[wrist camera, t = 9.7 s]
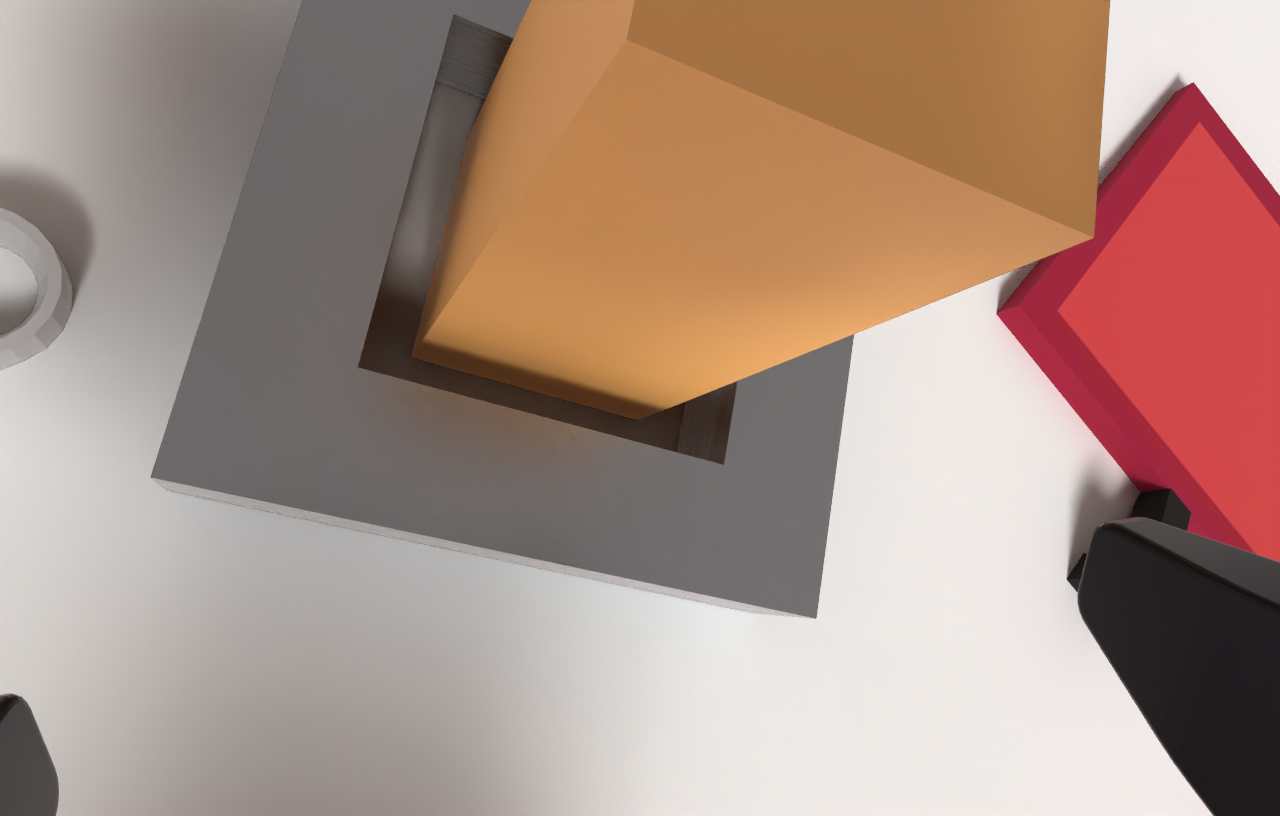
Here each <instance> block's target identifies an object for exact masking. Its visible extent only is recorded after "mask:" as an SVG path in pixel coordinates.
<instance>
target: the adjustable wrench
mask: <svg viewBox="0 0 1280 816" xmlns="http://www.w3.org/2000/svg"><path fill="white" fill-rule="evenodd" d="M0 247H3V248H6V249H9V250H10V251H12V252H14V253H15V254H17V255H18V256H20V257H21V258H23V259H24V261H25V262H26V263H27V264H28V265H29V267H30V268H31V269H32V270H33V272H34V275H35V278H36V281H37V284H38V297H37V301H36V304H35V306H34V308H33V311H32V313H31V314H30V315H29V316H28V317H27V318H26V319H25V320H24V321H23V323H22V324H21V325H19V326H17V327H15V328H14V329H12V330H10V331H8V332H6V333H3V334H0V370H3V369H5V368H8V367H11V366H13V365H16V364H18V363H21V362H24V361H26V360H27V359H29V358H31V357H32V356H34V355H36V354H38V353H39V352H41V351H43V350H44V349H46V348H47V347H48V346H49V345H50V344H51V343H52V342H53V341H54V340H55V339H56V337H57V336H58V335H59V334H60V333H61V332H62V331H63V329H64V327H65V325H66V322H67V320H68V317H69V315H70V313H71V310H72V289H73V287H72V284H71V281H70V278H69V276H68V273H67V270H66V267H65V265H64V263H63V262H62V260H61V258H60V257H59V255H58V254H57V252H56V250H55V249H54V247H53V246H52V245H51V244H50V242H49V241H48V240H47V239H46V237H45V236H44V235H43V234H42V233H41V231H40V230H39V229H38V228H37V227H36V226H34V225H33V224H31V223H30V222H28V221H27V220H25V219H24V218H22V217H21V216H19V215H18V214H16V213H15V212H12V211H9V210H6V209H3V208H0Z"/></svg>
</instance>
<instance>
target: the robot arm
mask: <svg viewBox="0 0 1280 816" xmlns="http://www.w3.org/2000/svg"><path fill="white" fill-rule="evenodd" d="M1077 596H1078V606H1079V611H1080V614H1081V616H1082V619H1083V621H1084V622H1085V624H1086V626H1087V627H1088V629H1089V630H1090V632H1091V634H1092V635H1093V637H1094V638H1095V640H1096V642H1097V643H1098V645H1099V646H1100V648H1101V650H1102V651H1103V653H1104V654H1105V656H1106V657H1107V659H1108V661H1109V662H1110V664H1111V665H1112V667H1113V669H1114V670H1115V672H1116V673H1117V675H1118V677H1119V678H1120V680H1121V681H1122V683H1123V684H1124V686H1125V688H1126V689H1127V691H1128V692H1129V694H1130V696H1131V697H1132V699H1133V700H1134V702H1135V703H1136V705H1137V707H1138V708H1139V710H1140V711H1141V713H1142V715H1143V716H1144V718H1145V719H1146V721H1147V723H1148V724H1149V726H1150V727H1151V729H1152V730H1153V732H1154V734H1155V735H1156V737H1157V738H1158V740H1159V741H1160V743H1161V744H1162V746H1163V747H1164V749H1165V750H1166V752H1167V753H1168V755H1169V757H1170V758H1171V760H1172V761H1173V763H1174V764H1175V765H1176V767H1177V768H1178V769H1179V771H1180V772H1181V773H1182V775H1183V776H1184V778H1185V779H1186V780H1187V782H1188V783H1189V784H1190V786H1191V787H1192V788H1193V790H1194V791H1195V792H1196V794H1197V795H1198V796H1199V798H1200V799H1201V800H1202V802H1203V803H1204V804H1205V806H1206V807H1207V808H1208V809H1209V811H1210V812H1211V813H1212V815H1213V816H1280V562H1279V561H1276V560H1273V559H1270V558H1267V557H1264V556H1261V555H1258V554H1255V553H1252V552H1249V551H1246V550H1243V549H1239V548H1236V547H1233V546H1230V545H1227V544H1224V543H1221V542H1218V541H1215V540H1212V539H1209V538H1206V537H1203V536H1200V535H1197V534H1194V533H1191V532H1188V531H1185V530H1182V529H1179V528H1176V527H1173V526H1170V525H1167V524H1164V523H1161V522H1158V521H1155V520H1152V519H1149V518H1145V517H1133V518H1127V519H1120V520H1114V521H1108V522H1105V523H1103V524H1101V525H1099V526H1098V527H1097V529H1096V530H1095V531H1094V532H1093V535H1092V537H1091V541H1090V545H1089V549H1088V553H1087V557H1086V561H1085V565H1084V569H1083V573H1082V577H1081V581H1080V585H1079V589H1078V595H1077ZM58 798H59V785H58V778H57V773H56V770H55V767H54V765H53V762H52V760H51V757H50V755H49V752H48V750H47V748H46V745H45V743H44V740H43V738H42V735H41V733H40V730H39V728H38V725H37V723H36V721H35V718H34V716H33V713H32V711H31V709H30V707H29V705H28V703H27V702H26V701H25V700H24V699H23V698H22V697H20V696H18V695H15V694H3V695H0V816H56V812H57V807H58Z"/></svg>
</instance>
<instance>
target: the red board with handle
mask: <svg viewBox="0 0 1280 816" xmlns="http://www.w3.org/2000/svg"><path fill="white" fill-rule="evenodd" d="M997 315H998V316H999V318H1000V319H1001V320H1002V321H1003V323H1004V324H1005V325H1006V326H1007V328H1008V329H1009V330H1010V331H1011V333H1012V334H1013V335H1014V336H1015V337H1016V339H1017V340H1018V341H1019V342H1020V344H1021V345H1022V346H1023V347H1024V349H1025V350H1026V351H1027V352H1028V354H1029V355H1030V356H1031V357H1032V358H1033V360H1034V361H1035V362H1036V363H1037V365H1038V366H1039V367H1040V368H1041V370H1042V371H1043V372H1044V373H1045V375H1046V376H1047V377H1048V378H1049V379H1050V381H1051V382H1052V383H1053V384H1054V386H1055V387H1056V388H1057V389H1058V391H1059V392H1060V393H1061V394H1062V396H1063V397H1064V398H1065V399H1066V400H1067V402H1068V403H1069V404H1070V405H1071V407H1072V408H1073V409H1074V410H1075V412H1076V413H1077V414H1078V415H1079V417H1080V418H1081V419H1082V420H1083V421H1084V423H1085V424H1086V425H1087V426H1088V428H1089V429H1090V430H1091V431H1092V433H1093V434H1094V435H1095V436H1096V438H1097V439H1098V440H1099V441H1100V442H1101V444H1102V445H1103V446H1104V447H1105V449H1106V450H1107V451H1108V452H1109V454H1110V455H1111V456H1112V457H1113V459H1114V460H1115V461H1116V462H1117V463H1118V465H1119V466H1120V467H1121V468H1122V470H1123V471H1124V472H1125V473H1126V475H1127V476H1128V477H1129V478H1130V480H1131V481H1132V482H1133V483H1134V484H1135V486H1136V487H1137V488H1138V489H1139V491H1140V492H1141V493H1140V495H1139V496H1138V498H1137V500H1136V503H1135V507H1134V510H1133V514H1132V517H1131V518H1133V517H1145V518H1149V519H1152V520H1155V521H1158V522H1161V523H1164V524H1167V525H1170V526H1173V527H1176V528H1179V529H1182V530H1185V531H1188V532H1191V533H1194V534H1197V535H1200V536H1203V537H1206V538H1209V539H1212V540H1215V541H1218V542H1221V543H1224V544H1227V545H1230V546H1233V547H1236V548H1239V549H1243V550H1246V551H1249V552H1252V553H1255V554H1258V555H1261V556H1264V557H1267V558H1270V559H1273V560H1276V561H1279V562H1280V196H1279V194H1278V193H1277V192H1276V190H1275V189H1274V188H1273V186H1272V185H1271V184H1270V182H1269V181H1268V180H1267V179H1266V177H1265V176H1264V175H1263V173H1262V172H1261V171H1260V169H1259V168H1258V167H1257V165H1256V164H1255V163H1254V161H1253V160H1252V159H1251V157H1250V156H1249V155H1248V153H1247V152H1246V151H1245V150H1244V148H1243V147H1242V146H1241V144H1240V143H1239V142H1238V140H1237V139H1236V138H1235V136H1234V135H1233V134H1232V132H1231V131H1230V130H1229V128H1228V127H1227V126H1226V124H1225V123H1224V122H1223V120H1222V119H1221V118H1220V117H1219V115H1218V114H1217V113H1216V111H1215V110H1214V109H1213V107H1212V106H1211V105H1210V103H1209V102H1208V101H1207V99H1206V98H1205V97H1204V95H1203V94H1202V93H1201V91H1200V90H1199V89H1198V88H1197V86H1196V85H1195V84H1194V82H1193V83H1191V84H1189V85H1187V86H1186V87H1184V88H1182V89H1180V90H1178V91H1177V92H1176V93H1175V94H1174V95H1173V96H1172V98H1171V99H1170V100H1169V101H1168V103H1167V104H1166V105H1165V106H1164V108H1163V109H1162V110H1161V111H1160V113H1159V114H1158V115H1157V116H1156V117H1155V119H1154V120H1153V121H1152V122H1151V124H1150V125H1149V126H1148V127H1147V129H1146V130H1145V131H1144V132H1143V134H1142V135H1141V136H1140V137H1139V138H1138V140H1137V141H1136V142H1135V143H1134V145H1133V146H1132V147H1131V148H1130V150H1129V151H1128V152H1127V153H1126V155H1125V156H1124V157H1123V158H1122V160H1121V161H1120V162H1119V163H1118V164H1117V166H1116V167H1115V168H1114V169H1113V171H1112V172H1111V173H1110V174H1109V176H1108V177H1107V178H1106V179H1105V181H1104V182H1103V183H1102V184H1101V185H1100V187H1099V188H1098V189H1097V202H1096V217H1095V232H1094V238H1092V239H1090V240H1087V241H1085V242H1082V243H1080V244H1077V245H1075V246H1072V247H1070V248H1067V249H1065V250H1062V251H1060V252H1057V253H1055V254H1052V255H1050V256H1047V257H1045V258H1042V259H1041V260H1040V261H1039V262H1038V263H1037V265H1036V266H1035V267H1034V268H1033V269H1032V271H1031V272H1030V273H1029V274H1028V276H1027V277H1026V278H1025V279H1024V281H1023V282H1022V283H1021V284H1020V286H1019V287H1018V288H1017V289H1016V290H1015V292H1014V293H1013V294H1012V295H1011V297H1010V298H1009V299H1008V300H1007V302H1006V303H1005V304H1004V305H1003V307H1002V308H1001V309H1000V310H999V311H998V313H997ZM1086 557H1087V553H1083V555H1082V557H1081V558H1080V560H1079V561H1078V563H1077V564H1076V566H1075V567H1074V569H1073V570H1072V572H1071V574H1070V575H1069V577H1068V578H1067V580H1068V582H1069V583H1070V584H1071V585H1072V586H1073V587H1074V589H1075V590H1076V591H1077V592H1078V589H1079V585H1080V581H1081V577H1082V573H1083V569H1084V565H1085V561H1086Z"/></svg>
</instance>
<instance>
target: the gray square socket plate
mask: <svg viewBox="0 0 1280 816" xmlns="http://www.w3.org/2000/svg"><path fill="white" fill-rule="evenodd" d="M530 2H531V0H303V1H302V4H301V8H300V11H299V14H298V17H297V20H296V23H295V26H294V30H293V33H292V36H291V39H290V42H289V45H288V48H287V51H286V55H285V58H284V61H283V64H282V67H281V70H280V73H279V77H278V80H277V83H276V86H275V89H274V92H273V95H272V99H271V102H270V105H269V108H268V111H267V114H266V117H265V120H264V124H263V127H262V130H261V133H260V136H259V139H258V142H257V146H256V149H255V152H254V155H253V158H252V161H251V164H250V167H249V171H248V174H247V177H246V180H245V183H244V186H243V189H242V193H241V196H240V199H239V202H238V205H237V208H236V211H235V214H234V218H233V221H232V224H231V227H230V230H229V233H228V236H227V240H226V243H225V246H224V249H223V252H222V255H221V258H220V261H219V265H218V268H217V271H216V274H215V277H214V280H213V283H212V287H211V290H210V293H209V296H208V299H207V302H206V305H205V308H204V312H203V315H202V318H201V321H200V324H199V327H198V330H197V334H196V337H195V340H194V343H193V346H192V349H191V352H190V355H189V359H188V362H187V365H186V368H185V371H184V374H183V377H182V381H181V384H180V387H179V390H178V393H177V396H176V399H175V402H174V406H173V409H172V412H171V415H170V418H169V421H168V424H167V428H166V431H165V434H164V437H163V440H162V443H161V446H160V449H159V453H158V456H157V459H156V462H155V465H154V468H153V471H152V475H151V478H152V479H153V480H154V481H156V482H157V483H158V484H160V485H161V486H162V487H163V488H165V489H166V490H168V491H173V492H177V493H182V494H187V495H192V496H197V497H201V498H206V499H211V500H216V501H220V502H225V503H230V504H235V505H240V506H244V507H249V508H254V509H259V510H263V511H268V512H273V513H278V514H283V515H287V516H292V517H297V518H302V519H306V520H311V521H316V522H321V523H326V524H330V525H335V526H340V527H345V528H350V529H354V530H359V531H364V532H369V533H373V534H378V535H383V536H388V537H393V538H397V539H402V540H407V541H412V542H416V543H421V544H426V545H431V546H436V547H440V548H445V549H450V550H455V551H459V552H464V553H469V554H474V555H479V556H483V557H488V558H493V559H498V560H503V561H507V562H512V563H517V564H522V565H526V566H531V567H536V568H541V569H546V570H550V571H555V572H560V573H565V574H569V575H574V576H579V577H584V578H589V579H593V580H598V581H603V582H608V583H613V584H617V585H622V586H627V587H632V588H636V589H641V590H646V591H651V592H656V593H660V594H665V595H670V596H675V597H679V598H684V599H689V600H694V601H699V602H703V603H708V604H713V605H718V606H722V607H727V608H732V609H737V610H742V611H746V612H751V613H759V614H770V615H781V616H792V617H803V618H814V619H816V617H817V609H818V602H819V594H820V587H821V579H822V571H823V564H824V556H825V549H826V541H827V534H828V526H829V519H830V511H831V504H832V496H833V489H834V481H835V473H836V466H837V458H838V451H839V443H840V436H841V428H842V421H843V413H844V406H845V398H846V391H847V383H848V375H849V368H850V360H851V353H852V345H853V338H854V334H853V335H850V336H848V337H845V338H843V339H840V340H838V341H835V342H833V343H830V344H828V345H825V346H823V347H820V348H818V349H815V350H813V351H810V352H808V353H805V354H803V355H800V356H798V357H795V358H793V359H790V360H788V361H785V362H783V363H780V364H778V365H775V366H773V367H770V368H768V369H765V370H763V371H761V372H758V373H756V374H753V375H751V376H748V377H746V378H743V379H741V380H738V381H736V382H733V383H731V384H728V385H726V386H723V387H721V388H718V389H716V390H713V391H711V392H708V393H706V394H703V395H701V396H698V397H696V398H693V399H691V400H688V401H686V402H685V404H684V410H683V416H682V421H681V427H680V433H679V438H678V444H677V449H676V452H674V451H670V450H666V449H662V448H659V447H655V446H651V445H647V444H644V443H640V442H636V441H632V440H629V439H625V438H621V437H617V436H614V435H610V434H606V433H602V432H599V431H595V430H591V429H587V428H584V427H580V426H576V425H572V424H569V423H565V422H561V421H557V420H554V419H550V418H546V417H542V416H539V415H535V414H531V413H527V412H524V411H520V410H516V409H512V408H509V407H505V406H501V405H497V404H494V403H490V402H486V401H482V400H479V399H475V398H471V397H467V396H464V395H460V394H456V393H452V392H449V391H445V390H441V389H437V388H434V387H430V386H426V385H422V384H419V383H415V382H411V381H407V380H404V379H400V378H396V377H392V376H389V375H385V374H381V373H378V372H374V371H370V370H366V369H363V368H359V367H358V365H359V361H360V358H361V354H362V350H363V346H364V343H365V339H366V335H367V332H368V328H369V324H370V321H371V317H372V313H373V310H374V306H375V302H376V298H377V295H378V291H379V287H380V284H381V280H382V276H383V273H384V269H385V265H386V262H387V258H388V254H389V250H390V247H391V243H392V239H393V236H394V232H395V228H396V225H397V221H398V217H399V213H400V210H401V206H402V202H403V199H404V195H405V191H406V188H407V184H408V180H409V177H410V173H411V169H412V165H413V162H414V158H415V154H416V151H417V147H418V143H419V140H420V136H421V132H422V129H423V125H424V121H425V117H426V114H427V110H428V106H429V103H430V99H431V95H432V92H433V88H434V84H435V81H437V82H439V83H442V84H444V85H447V86H450V87H452V88H455V89H458V90H460V91H463V92H466V93H468V94H471V95H474V96H476V97H479V98H481V99H484V100H485V99H486V97H487V95H488V93H489V91H490V88H491V86H492V84H493V82H494V80H495V78H496V76H497V73H498V71H499V69H500V67H501V65H502V63H503V60H504V58H505V56H506V54H507V52H508V50H509V47H510V45H511V43H512V41H513V39H514V37H515V35H516V32H517V30H518V28H519V26H520V24H521V22H522V19H523V17H524V15H525V13H526V11H527V9H528V6H529V4H530Z"/></svg>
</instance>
